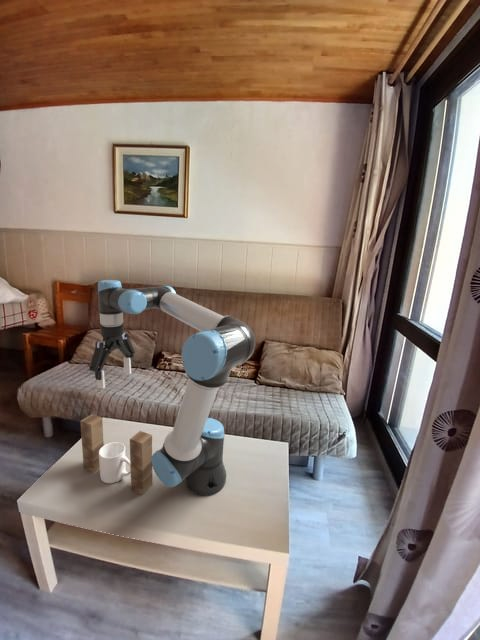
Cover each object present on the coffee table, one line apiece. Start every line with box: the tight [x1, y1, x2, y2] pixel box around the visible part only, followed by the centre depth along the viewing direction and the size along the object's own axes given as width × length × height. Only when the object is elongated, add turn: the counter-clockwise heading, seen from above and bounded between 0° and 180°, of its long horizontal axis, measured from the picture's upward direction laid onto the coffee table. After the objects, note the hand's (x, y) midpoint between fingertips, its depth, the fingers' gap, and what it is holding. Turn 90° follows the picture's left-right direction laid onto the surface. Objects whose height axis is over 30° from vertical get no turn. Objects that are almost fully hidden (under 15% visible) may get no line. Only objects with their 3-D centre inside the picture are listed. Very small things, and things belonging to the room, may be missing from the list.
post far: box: [79, 413, 105, 474], centre depth 112 cm, size 5×5×20 cm
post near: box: [129, 430, 153, 495], centre depth 104 cm, size 5×5×20 cm
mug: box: [99, 441, 131, 484], centre depth 109 cm, size 9×12×11 cm
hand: (115, 380), depth 113 cm, fingers open, 13 cm apart
